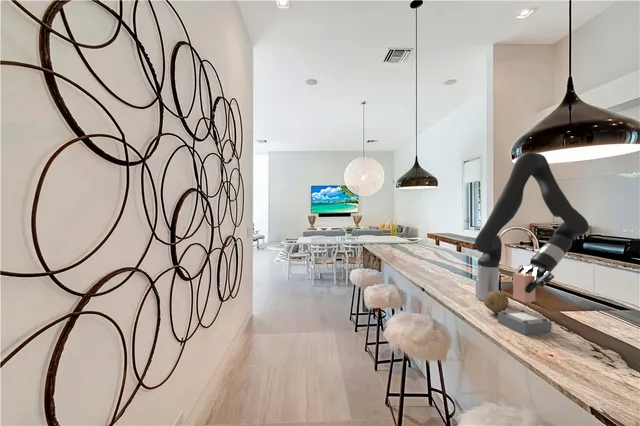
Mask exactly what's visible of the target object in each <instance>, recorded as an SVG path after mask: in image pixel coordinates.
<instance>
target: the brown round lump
mask: <svg viewBox="0 0 640 426" xmlns="http://www.w3.org/2000/svg"><path fill="white" fill-rule="evenodd" d="M509 303H510V301H509V298H508V296H506V294H505V293H504V292H502V291H499V290H498V291H492V292H490V293H488V294H487V295H486V297H485V299H484V301H483V305H484V306H485V307H486V308H487V309H488V310H490V311H491V312H493V313H494V314H496V315H498V313H499V312H501V311H506V310H507V308H508V306H509Z"/></svg>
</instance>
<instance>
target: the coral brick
mask: <svg viewBox="0 0 640 426" xmlns="http://www.w3.org/2000/svg"><path fill="white" fill-rule="evenodd" d="M512 275H513V277H512V279H513V280H512V281H513V282H512V283H513V286H512V298H513V299H514V300H517V301H519V302H523V303H531V302H533V303H534V302H536V287H535V288H534V289H533V291H532V292H530V293H527V292H526V291H525V290H524V289H525V288H526V286H527V285H528V284H529V283H530V282H531V281H532V278H533V275H532V274H528V273H515V272H513V273H512ZM531 283H532V282H531Z"/></svg>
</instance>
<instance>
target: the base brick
mask: <svg viewBox="0 0 640 426" xmlns="http://www.w3.org/2000/svg"><path fill="white" fill-rule="evenodd" d="M497 323H498V324H500V325H503V326H504V327H507V328H508V329H511V330H513V331H515V332H518V333H519V334H521V335H524V336H529V335H538V334H544V333H545V334H546V333H547V334H548V333H551V332H552V321H551V320H548V318H547V317H540V316H538V315H535V314H532V313H530V312H527V311H525V309H524V308H520V309H519V310H511V311H506V310H505V311H501V312H499V313H498V314H497Z"/></svg>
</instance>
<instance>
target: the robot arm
mask: <svg viewBox="0 0 640 426" xmlns="http://www.w3.org/2000/svg"><path fill="white" fill-rule="evenodd" d="M531 176H532V177H533V178H534V180H535V181H536V182H537V184H538V187H539V188H540V192H541V197H542V199H543V202H544V204H545V205H546V208H547V209H548V210H549V212H550V213H551V215H552V216H553V217H556V218H560V219H561V220H563V222H562V223H561V224H560V225H559V226H558V227H557V228H556V230H554V233H553V234H552V236H551V237H550V238H549V239H548V240H547V241H546V243H545V244H544V245H543V246H541V248H539V249H538V251H536V253H535V254H534V255H533V256H532V257H531V258H530V261H529V262H530V263H529V264H527V265H526V266H524V265H523V264H520V265H519V266H518V268H517V269H516V270H515V272H514V273H528V274H532V275H533V278H532V281H531V282H532V283H531V282H530V283H529V284H528V285H527V286H526V288H525V289H524V290H525V291H526V292H527V293H530V292H532V291H533V289H534V288H535V289H536V287H540V288H542V287H545V286H546V285H547V284H548V283H549V282H550V281H551V280H553V279H554V278H555V275H554V274H553V273H552V272H553V270H554V269H555V268H556V267H557V265H559V264H560V262H561V261H562V260H563V257H564V256H565V255H566V254H567V253H568V251H570V250H571V248H572V246H573V242H574V240H575V239H577V238H578V237H580V236H582V235H584V234H586V233H587V232H588V231H589V229H590V226H589V222H588V221H587V219H586V218H585V217H584V215H582V214H581V213H579V211H578V210H576V209H575V208H574V207H573V206H572V204H571V203H570V201H569V200H568V198H567V197H566V195H565V193H563V190H562V189H561V188H560V186H559V184H558V182H557V181H556V179H555V177H554V174H553V172H552V169H551V167H550V165H549V162H548V160H547V158H546V156H544V155H543V154H541V153H537V152H536V153H535V152H531V151H528V152H524V153H522V154H521V155H520V156H518V157H517V159H516V161H515V162H514V165H513V168H512V170H511V173H510V176H509V179H508V181H507V182H506V184H505V186H504V188H503V189H502V192H501V194H500V196H499V197H498V199H497V201H496V203H495V204H494V207H493V209H492V210H491V213H490V215H489V216H488V218H487V221H486V222H485V224H484V225H483V228H481V230H480V231H479V233H478V235H477V236H476V237H475V240H474V247H475V249H476V250H477V251H478V252H479V253H482V254H481V257H479V258H478V259H477V278H476V279H475V298H477V299H478V300H480V301H482V302H484V299H485V297H486V295H487V294H488V293H490V292H492V291H498V292H499V285H500V284H499V283H500V282H499V280H500V279H499V278H500V277H499V276H500V274H499V271H500V267H499V266H500V262H501V260H502V248H503V245H502V244H503V243H502V240H501V238H500V236H499V235H498V234H499V232H500V231H501V230H502V229H503V228H504V227H505V226H506V225H507V224H509V222H510V221H512V219H513V218H515V216H516V214H517V213H518V210H519V209H520V207H521V205H522V203H523V199H524V198H523V197H524V191H525V190H524V189H525V187H526V185H527V183H528V181H529V179H530V178H531ZM511 286H512V287H513V282H512V283H511Z"/></svg>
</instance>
